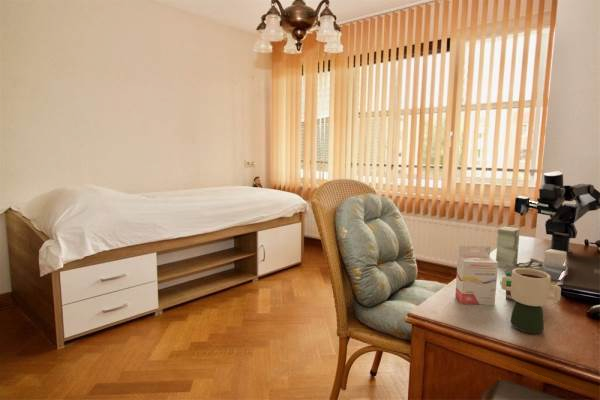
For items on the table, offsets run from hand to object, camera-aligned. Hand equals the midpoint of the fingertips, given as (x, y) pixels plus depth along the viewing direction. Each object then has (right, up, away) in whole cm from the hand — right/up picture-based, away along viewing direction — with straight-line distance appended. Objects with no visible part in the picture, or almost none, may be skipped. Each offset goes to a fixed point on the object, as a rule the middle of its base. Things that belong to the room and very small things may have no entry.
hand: (535, 217), depth 118 cm
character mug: (-31, -23, -42) cm, 57 cm away
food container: (-21, -21, -27) cm, 40 cm away
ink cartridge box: (-35, -21, -27) cm, 49 cm away
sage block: (-10, -17, +1) cm, 19 cm away
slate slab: (-2, -18, -8) cm, 20 cm away
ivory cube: (+7, -17, 0) cm, 18 cm away
